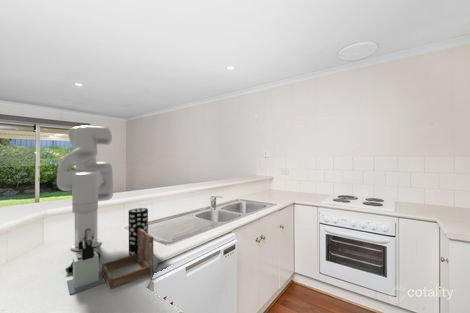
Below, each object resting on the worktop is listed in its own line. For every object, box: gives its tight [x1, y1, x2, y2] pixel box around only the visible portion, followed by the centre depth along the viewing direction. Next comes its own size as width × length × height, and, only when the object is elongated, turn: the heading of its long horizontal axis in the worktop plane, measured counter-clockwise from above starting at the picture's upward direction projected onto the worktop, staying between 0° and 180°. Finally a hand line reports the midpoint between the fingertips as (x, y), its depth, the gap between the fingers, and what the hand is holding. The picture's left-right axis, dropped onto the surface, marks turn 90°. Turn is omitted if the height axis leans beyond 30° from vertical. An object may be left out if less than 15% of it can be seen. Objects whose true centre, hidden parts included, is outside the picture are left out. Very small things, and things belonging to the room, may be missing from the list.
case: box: [101, 228, 155, 290], centre depth 83 cm, size 16×15×14 cm
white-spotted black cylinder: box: [128, 207, 149, 256], centre depth 101 cm, size 8×8×20 cm
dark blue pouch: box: [65, 250, 102, 274], centre depth 91 cm, size 9×6×15 cm
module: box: [72, 250, 100, 288], centre depth 77 cm, size 5×7×10 cm
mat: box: [66, 270, 106, 296], centre depth 77 cm, size 10×10×1 cm
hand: (85, 253), depth 78 cm, fingers open, 9 cm apart
